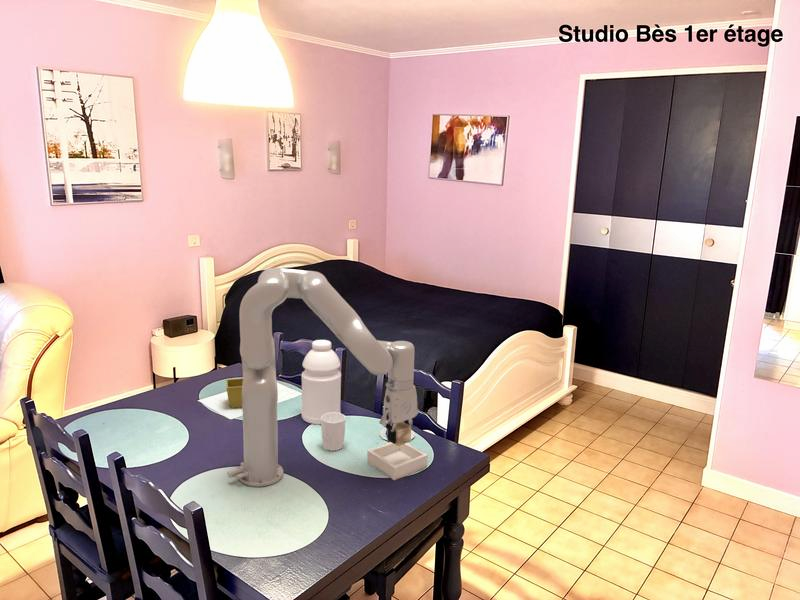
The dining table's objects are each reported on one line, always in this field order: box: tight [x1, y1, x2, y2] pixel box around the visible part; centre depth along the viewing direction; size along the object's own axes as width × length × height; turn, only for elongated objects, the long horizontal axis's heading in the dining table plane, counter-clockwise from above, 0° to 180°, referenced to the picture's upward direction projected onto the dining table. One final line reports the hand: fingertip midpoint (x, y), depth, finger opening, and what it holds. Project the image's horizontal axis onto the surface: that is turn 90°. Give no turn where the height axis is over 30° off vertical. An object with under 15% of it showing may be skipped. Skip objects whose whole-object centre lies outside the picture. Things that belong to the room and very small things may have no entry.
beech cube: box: [386, 422, 412, 446], centre depth 179 cm, size 5×5×5 cm
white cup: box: [320, 412, 347, 452], centre depth 190 cm, size 8×8×10 cm
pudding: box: [379, 421, 416, 441], centre depth 200 cm, size 12×12×5 cm
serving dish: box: [366, 441, 429, 481], centre depth 181 cm, size 13×13×4 cm
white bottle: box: [301, 339, 342, 425], centre depth 209 cm, size 14×14×28 cm
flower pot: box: [225, 377, 243, 409], centre depth 219 cm, size 9×9×9 cm
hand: (399, 438), depth 179 cm, fingers closed on beech cube, 5 cm apart
